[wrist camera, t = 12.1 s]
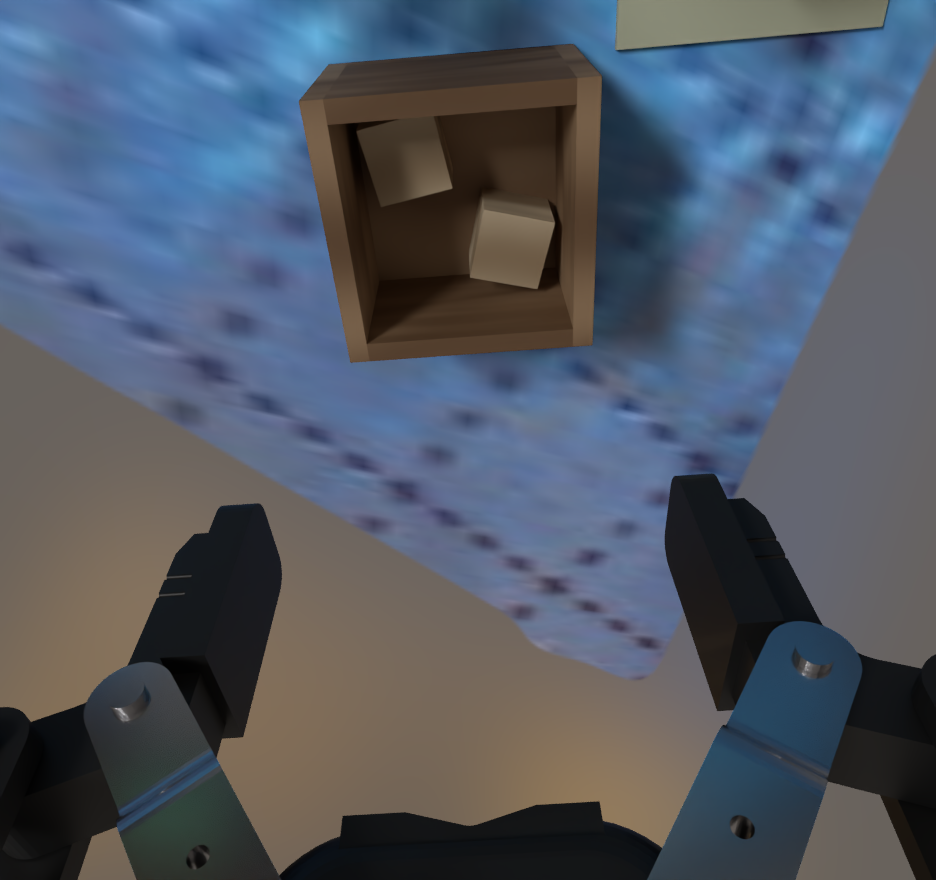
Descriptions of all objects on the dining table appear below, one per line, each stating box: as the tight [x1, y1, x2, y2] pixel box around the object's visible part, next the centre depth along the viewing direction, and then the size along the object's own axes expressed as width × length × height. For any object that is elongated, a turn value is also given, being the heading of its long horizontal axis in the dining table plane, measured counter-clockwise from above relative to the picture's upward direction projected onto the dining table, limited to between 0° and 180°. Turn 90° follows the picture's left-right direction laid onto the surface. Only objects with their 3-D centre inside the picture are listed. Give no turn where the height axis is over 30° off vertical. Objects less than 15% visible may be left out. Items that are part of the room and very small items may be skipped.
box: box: [299, 44, 602, 363], centre depth 29 cm, size 10×10×7 cm
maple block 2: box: [469, 187, 555, 289], centre depth 31 cm, size 3×3×3 cm
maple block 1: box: [356, 116, 453, 207], centre depth 29 cm, size 3×3×3 cm
